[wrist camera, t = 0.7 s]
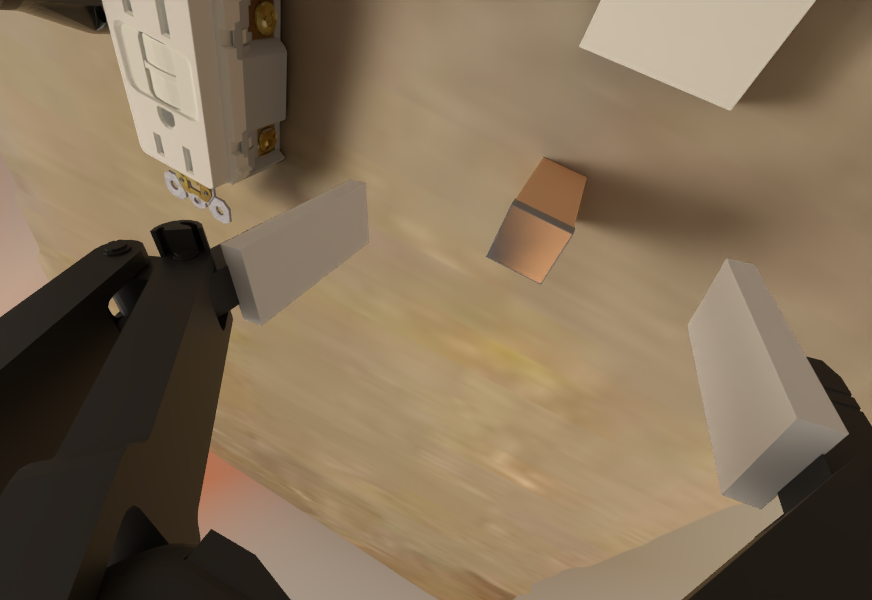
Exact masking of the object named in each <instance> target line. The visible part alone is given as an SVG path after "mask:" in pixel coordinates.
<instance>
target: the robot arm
mask: <svg viewBox="0 0 872 600" xmlns="http://www.w3.org/2000/svg"><path fill="white" fill-rule="evenodd" d="M0 10H15V11H22V12H25V13H28V14H31V15H34V16H37V17H41V18H44V19H47V20H50V21H53V22H56V23H59V24H62V25H65V26H69V27H72V28H75V29H78V30H81V31H84V32H88V33H93V34H111V33H110V29H109V26H108V22H107V18H106V14H105V11H104V7H103V3H102V0H0ZM150 232H151V234H152V237H153V239H154V242H155V244H156V246H157V249H158V251H159V253H160V256H161V257H156V256H148V254H147V252H146V249H145V247H144V245H143V243H141V242H139V241H135V240H117V241H111V242H109V243H108V244H105V245H102V246H100V247H98V248H96V249H94V250H93V251H91V252H90V253H89V254H87V255H86V256H85V257H83V258H82V259H80V260H79V261H78V262H76V263H75V264H73V265H72V266H71V267H69V268H68V269H67V270H65V271H64V272H62V273H61V274H60V275H58V276H57V277H55V278H54V279H53V280H51V281H50V282H49V283H47V284H46V285H44V286H43V287H42V288H40V289H39V290H37V291H36V292H35V293H33V294H32V295H30V296H29V297H28V298H26V299H25V300H24V301H22V302H21V303H20V304H18V305H17V306H15V307H14V308H13V309H11V310H10V311H8V312H7V313H6V314H4V315H3V316H1V317H0V600H290V599H289V597H288V596H287V595H286V593H285V592H284V591H283V590H282V588H281V587H280V586H279V585H278V583H277V582H276V581H275V579H274V578H273V577H272V576H271V574H270V573H269V572H268V570H267V569H266V568H265V567H264V565H263V564H262V563H261V562H260V560H259V559H258V558H257V557H256V555H254V554H253V553H251V552H249V551H248V550H246V549H244V548H243V547H241V546H239V545H237V544H236V543H234V542H232V541H231V540H229V539H227V538H226V537H224V536H222V535H220V534H219V533H217V532H216V531H214V530H212V529H211V530H210V531H209V532H208V534H207V535H206V536H205V537H204V538H203V540H202V541H201V542H200V533H199V527H198V506H199V501H200V496H201V491H202V484H203V479H204V474H205V469H206V463H207V458H208V453H209V447H210V442H211V436H212V431H213V425H214V420H215V414H216V409H217V404H218V398H219V393H220V387H221V382H222V376H223V371H224V365H225V360H226V355H227V349H228V344H229V338H230V333H231V327H232V322H233V317H232V313H231V309H233V308H234V307H236V306H237V305H238V304H239V306H240V309H241V313H242V316H243V319H245V320H248V321H250V322H253V323H256V324H259V325H261V326H262V325H263V324H265V323H266V322H267V321H268V320H270V319H271V318H272V317H274V316H275V315H276V314H278V313H279V312H280V311H281V310H283V309H284V308H285V307H287V306H288V305H289V304H290V303H292V302H293V301H294V300H296V299H297V298H298V297H299V296H301V295H302V294H303V293H305V292H306V291H307V290H308V289H310V288H311V287H312V286H314V285H315V284H316V283H317V282H319V281H320V280H321V279H323V278H324V277H325V276H326V275H328V274H329V273H330V272H332V271H333V270H334V269H335V268H337V267H338V266H339V265H341V264H342V263H343V262H344V261H346V260H347V259H348V258H350V257H351V256H352V255H353V254H355V253H356V252H357V251H359V250H360V249H361V248H362V247H364V246H365V245H366V244H368V243H369V233H368V214H367V195H366V183H365V182H360V181H356V180H351V179H350V180H348V181H346V182H344V183H342V184H340V185H338V186H336V187H334V188H332V189H330V190H328V191H326V192H324V193H322V194H320V195H318V196H316V197H314V198H312V199H310V200H308V201H306V202H304V203H302V204H300V205H298V206H296V207H294V208H292V209H290V210H288V211H286V212H284V213H282V214H280V215H278V216H276V217H274V218H272V219H270V220H268V221H266V222H264V223H261V224H259V225H257V226H255V227H253V228H251V229H250V230H247V231H245V232H243V233H241V234H240V235H237V236H235V237H233V238H231V239H229V240H227V241H225V242H223V243H221V244H219V245H217V246H215V247H213V248H211V249H210V247H209V244H208V241H207V238H206V235H205V232H204V229H203V226H202V224H201V223H199V222H197V221H192V220H179V221H171V222H168V223H164V224H161V225H159V226H157V227H155V228H154V229H152V230H151V231H150ZM112 297H113V299H114V301H115V302H116V304H117V306H118V308H119V310H120V312H119V313H118V314H117V315H115V316H113V315H112V314H111V312H110V310H109V308H108V305H109V301H110V299H111V298H112ZM687 326H688V331H689V336H690V341H691V346H692V351H693V356H694V361H695V366H696V371H697V376H698V380H699V385H700V390H701V395H702V400H703V405H704V410H705V415H706V420H707V425H708V430H709V435H710V440H711V445H712V450H713V455H714V459H715V464H716V469H717V474H718V479H719V484H720V489H721V494H722V495H723V496H726V497H729V498H732V499H734V500H737V501H740V502H743V503H745V504H748V505H751V506H753V507H757V508H759V509H762V508H764V507H765V506H766V505H767V504H768V503H769V502H770V501H772V500H773V499H774V498H775V497H776V496H777V495H778V497H779V499H780V503H781V506H782V509H783V512H784V514H783V515H782V516H780V517H779V518H778V519H777V520H775V521H774V522H773V523H772V524H770V525H769V526H768V527H767V528H766V529H764V530H763V531H762V532H761V533H759V534H758V535H757V536H755V538H754V539H753V540H752V541H751V542H749V543H748V544H747V545H746V546H745V547H744V548H742V549H741V550H740V551H739V552H738V553H737V554H735V555H734V556H733V557H732V558H731V559H729V560H728V561H727V562H726V563H725V564H723V565H722V566H721V567H720V568H719V569H718V570H716V572H714V573H713V574H712V575H710V576H709V577H708V578H707V579H706V580H705V581H703V582H702V583H701V584H700V585H699V586H697V587H696V588H695V589H694V590H693V591H692V592H691V593H689V594H688V595H687V596H686V597H684V599H682V600H872V426H871V424H870V423H869V421H868V419H867V418H866V416H865V415H864V413H863V412H861V411H860V409H861V408H860V407H859V405H858V403H857V402H856V400H855V399H854V398H853V397H851V395H852V394H851V392H850V391H849V389H848V388H847V386H846V384H845V383H844V381H843V380H842V378H841V377H840V376H839V375H838V374H837V373H835V372H834V371H833V370H832V369H831V368H830V367H829V366H828V365H826V364H825V363H824V362H823V361H821V360H817V359H814V358H810V357H806V356H805V354H804V352H803V350H802V349H801V347H800V345H799V343H798V341H797V340H796V338H795V336H794V334H793V332H792V331H791V329H790V327H789V325H788V323H787V322H786V320H785V318H784V316H783V314H782V313H781V311H780V309H779V307H778V305H777V304H776V302H775V300H774V298H773V297H772V295H771V293H770V291H769V289H768V288H767V286H766V284H765V282H764V280H763V279H762V277H761V275H760V273H759V271H758V270H757V268H756V266H755V264H751V263H746V262H742V261H737V260H732V259H727V258H726V260H725V262H724V263H723V265H722V267H721V268H720V270H719V272H718V274H717V275H716V277H715V279H714V280H713V282H712V284H711V286H710V287H709V289H708V291H707V293H706V294H705V296H704V298H703V299H702V301H701V303H700V305H699V306H698V308H697V310H696V311H695V313H694V315H693V317H692V318H691V320H690V322H689V324H688V325H687Z"/></svg>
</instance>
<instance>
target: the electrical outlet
mask: <svg viewBox="0 0 872 600" xmlns="http://www.w3.org/2000/svg"><path fill="white" fill-rule="evenodd" d="M102 3H103V7H104V11H105V14H106V18H107V22H108V26H109V29H110V33H111V37H112V41H113V44H114V48H115V52H116V56H117V59H118V63H119V67H120V71H121V74H122V78H123V82H124V86H125V89H126V93H127V97H128V101H129V104H130V108H131V112H132V116H133V119H134V123H135V127H136V131H137V134H138V138H139V142H140V146H141V148H142V150H143V151H144V152H145V153H147V154H148V155H150V156H152V157H154V158H156V159H157V160H159V161H161V162H163V163H164V164H166V165H168V166H170V167H172V168H173V170H174V171H175V173H174V172H172V171H170V170H169V171H167V172H166V173H164V177H165V181H166V185H167V187H168V189H169V190H170V191H171V193H172V194H173V195H175V196H177V197H178V198H180V199H182V200H183V199H185V198H187V197H188V193H189V196H190V199H191V201H192V202H193V203H194V205H195V206H197V207H198V208H200V209H204V208H206V207H208V205H209V204H210V205H209V208H210V212H211V213H212V214H213V216H214V217H215V219H217V220H219V221H221V222H222V223H224V224H227V223H229V222H231V221H232V219H231V209H230V208H229V206H228V205H227V204H226V202H225V201H224V200H222V199H220V198H218V197H217V196H216V192H215V188H216V187H218V186H220V185H222V184H225V183H228V184H230V185H233V184H235V183H237V182H239V181H241V180H243V179H246V178H248V177H250V176H252V175H254V174H256V173H259V172H261V171H263V170H265V169H267V168H269V167H271V166H272V165H273V164H275V163H277V162H280V161H282V160H283V159H284V158H285V157H284V156H283V154H282V153H281V152H280V151H279V150H280V121H282V120H285V119H286V78H287V50H286V48H285V46H284V45H283V43H282V42H281V41H280V5H281V0H102ZM172 181H174V182H175V183H176V184H177V185H178V189H177V188H176V187H175V186H174V185H173V182H172ZM190 181H191V182H193V183H195V184H196V185H199V184H200V191H201V192H200V191H198V190H197V189H195V188H193V187H192V185H191V182H190ZM198 183H199V184H198ZM196 198H197V199H198V201H199V202H198V201H197V200H196ZM207 204H208V205H207ZM218 206H219V207H220V208H221V209H222V210H223V212H224V215H223V214H221V212H220V211H219V210H218Z"/></svg>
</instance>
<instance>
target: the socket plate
mask: <svg viewBox="0 0 872 600" xmlns="http://www.w3.org/2000/svg"><path fill="white" fill-rule="evenodd" d="M815 1H816V0H601V1H600V3H599V5H598V7H597V10H596V12H595V14H594V16H593V18H592V20H591V22H590V24H589V27H588V29H587V31H586V33H585V35H584V37H583V39H582V41H581V44H580V46H579V47H581V48H583V49H585V50H588V51H590V52H593V53H595V54H597V55H600V56H602V57H604V58H607V59H609V60H611V61H614V62H616V63H618V64H621V65H623V66H626V67H628V68H630V69H633V70H635V71H637V72H640V73H642V74H644V75H647V76H649V77H651V78H654V79H656V80H659V81H661V82H663V83H666V84H668V85H670V86H673V87H675V88H677V89H680V90H682V91H684V92H687V93H689V94H691V95H694V96H696V97H699V98H701V99H703V100H706V101H708V102H710V103H713V104H715V105H717V106H720V107H722V108H724V109H727V110H729V111H731V110H732V108H733V107H734V106H735V104H736V103H737V102H738V101H739V99H740V98H741V97H742V95H743V94H744V93H745V92H746V90H747V89H748V88H749V86H750V85H751V84H752V82H753V81H754V80H755V79H756V77H757V76H758V75H759V73H760V72H761V71H762V69H763V68H764V67H765V66H766V64H767V63H768V62H769V60H770V59H771V58H772V57H773V55H774V54H775V53H776V51H777V50H778V49H779V47H780V46H781V45H782V44H783V42H784V41H785V40H786V38H787V37H788V36H789V34H790V33H791V32H792V31H793V29H794V28H795V27H796V25H797V24H798V23H799V22H800V20H801V19H802V18H803V16H804V15H805V14H806V12H807V11H808V10H809V9H810V7H811V6H812V5H813V3H814V2H815Z"/></svg>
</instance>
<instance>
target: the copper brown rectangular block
mask: <svg viewBox="0 0 872 600" xmlns="http://www.w3.org/2000/svg"><path fill="white" fill-rule="evenodd" d="M586 179H587V177H585V176H583V175H581V174H578V173H576V172H574V171H572V170H570V169H568V168H566V167H563V166H561V165H559V164H557V163H555V162H553V161H550V160H548V159H546V158H543V159H542V161H541V162H540V164H539V165H538V167H537V168H536V170H535V171H534V173H533V174H532V176H531V177H530V179H529V180H528V182H527V183H526V185H525V186H524V188H523V189H522V191H521V192H520V194H519V195H518V197H517V198H516V199H515V200H514V201H513V203H512V204H511V206H510V208H509V210H508V212H507V215H506V217H505V219H504V221H503V223H502V225H501V227H500V229H499V231H498V233H497V235H496V237H495V239H494V241H493V243H492V245H491V248H490V250H489V252H488V254H487V256H486V257H487V258H489V259H491V260H493V261H495V262H497V263H499V264H501V265H503V266H505V267H507V268H509V269H511V270H513V271H515V272H517V273H519V274H521V275H523V276H525V277H527V278H529V279H531V280H533V281H535V282H537V283H539V284H542V282H543V281H544V279H545V277H546V276H547V274H548V273H549V271H550V270H551V268H552V267H553V265H554V263H555V262H556V260H557V259H558V257H559V256H560V254H561V253H562V251H563V249H564V248H565V246H566V245H567V243H568V242H569V240H570V239H571V237H572V235H573V234H574V230H575V228H574V225H575V222H576V218H577V214H578V210H579V206H580V202H581V199H582V195H583V191H584V187H585V183H586Z"/></svg>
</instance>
